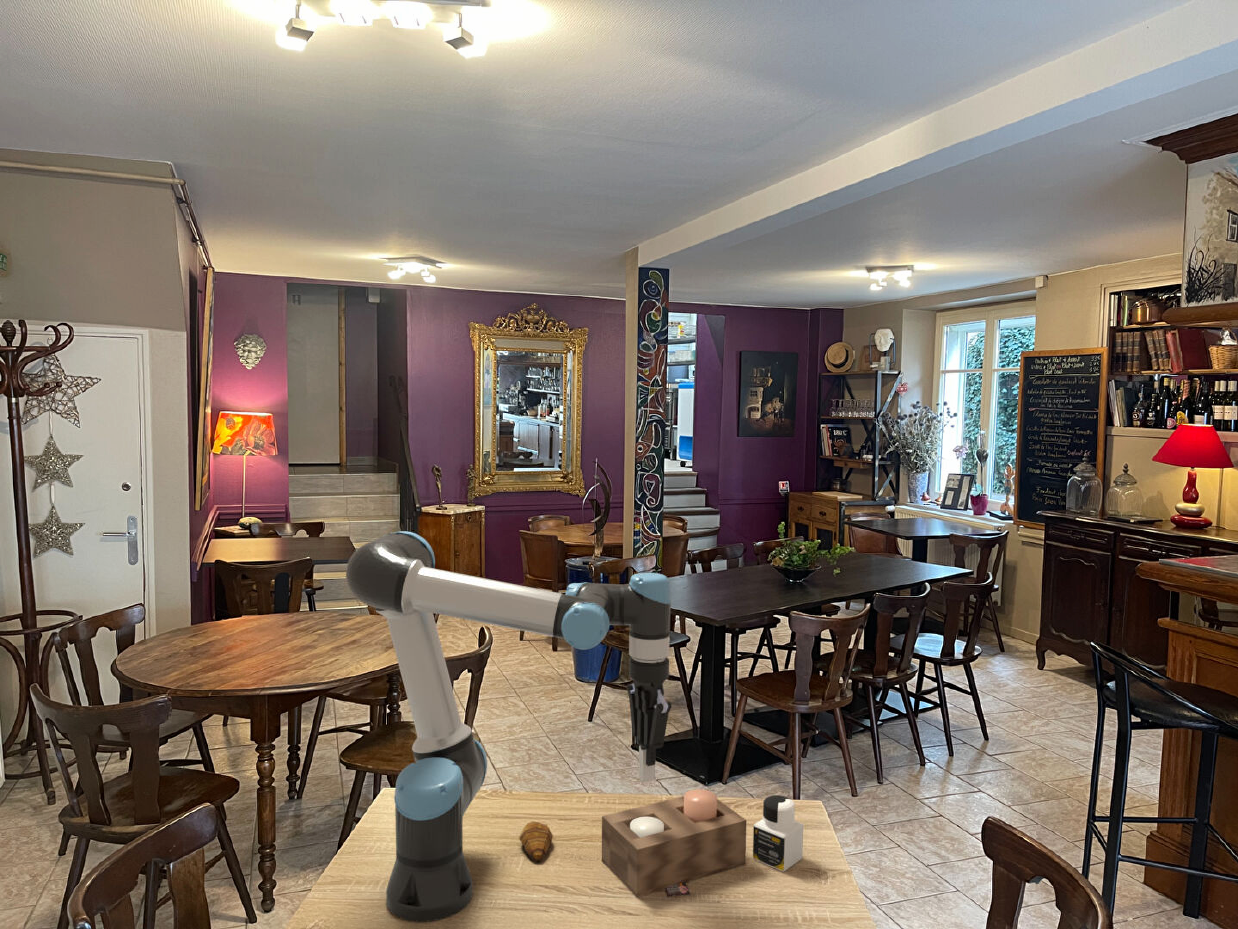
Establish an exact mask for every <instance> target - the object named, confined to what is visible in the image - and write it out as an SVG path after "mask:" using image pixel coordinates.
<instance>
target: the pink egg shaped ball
mask: <svg viewBox="0 0 1238 929" xmlns="http://www.w3.org/2000/svg"><path fill="white" fill-rule="evenodd" d="M683 796H684V815H685V816H687V817H688V818H689V819H690V820H692V821H693V822H694V823H697V822H701V821H705V820H709V819H713V818H716V817H717V799H718V796H717V794H715V793H714V792H712V791H710V790H708V789H703V788H702V789H701V788H696V789H690V790H688V791H686V792H685V793H684V795H683Z"/></svg>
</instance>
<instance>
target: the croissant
mask: <svg viewBox="0 0 1238 929" xmlns="http://www.w3.org/2000/svg"><path fill="white" fill-rule="evenodd" d="M553 837H554V834H553V833H552V831H551V830H550V828H549V826H548V824H546V823H545V824H544V823H541V822H538V821H531V822H528V823H527V824H526V825H525V826H524V828H522V831H521V833H520V836H519V838H518V839H519V840H520V843H521V844H522V846H523V847H524V849H525V852H526V854H527V855H528V857H529V858H530V860H532V861H533V862H535V863H540V862H542V861H543V860H544V858H545V856H546V855H547V852H548V851H549V848H550V844H551V843H552V841H553Z"/></svg>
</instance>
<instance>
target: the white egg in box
mask: <svg viewBox="0 0 1238 929" xmlns="http://www.w3.org/2000/svg"><path fill="white" fill-rule="evenodd" d="M630 829H631V830H632V831H633V832H634V833H635V834H637V835H638V836H639V837H644V836H648V835H652V834H656V833H659V832H663V831H664V824H663V822H662V821H661V820H659V819H657V818H653V817H639V818H636V819H634V820H632V821H631V823H630Z"/></svg>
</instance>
